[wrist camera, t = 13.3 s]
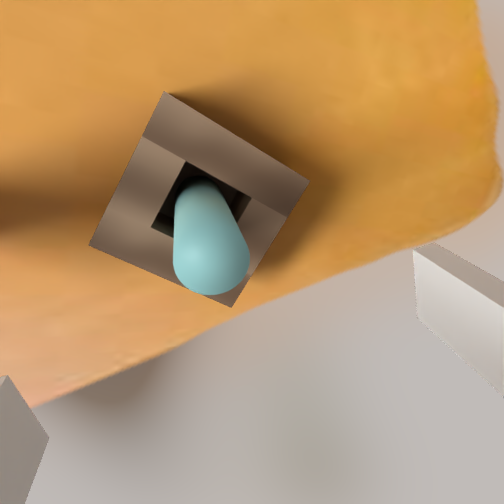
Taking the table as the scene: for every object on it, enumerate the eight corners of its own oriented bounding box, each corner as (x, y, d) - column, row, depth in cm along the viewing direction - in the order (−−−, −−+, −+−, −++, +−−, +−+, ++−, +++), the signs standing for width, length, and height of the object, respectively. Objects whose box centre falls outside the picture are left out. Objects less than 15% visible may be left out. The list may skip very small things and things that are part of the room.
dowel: (188, 166, 31) (195, 210, 19) (230, 189, 33) (263, 244, 20) (167, 208, 32) (159, 277, 19) (208, 228, 34) (226, 305, 21)
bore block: (166, 93, 30) (164, 91, 24) (288, 168, 34) (310, 180, 28) (103, 221, 33) (88, 245, 27) (223, 277, 37) (231, 307, 31)
